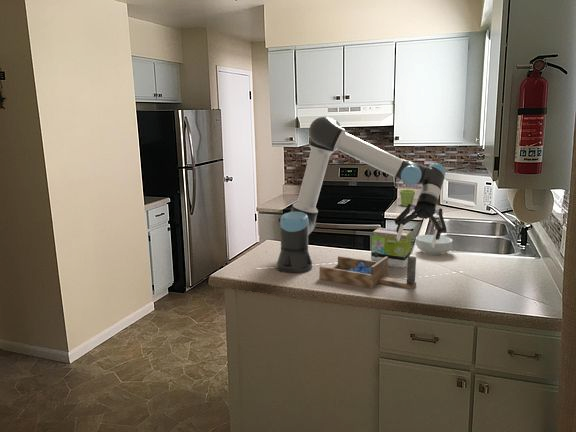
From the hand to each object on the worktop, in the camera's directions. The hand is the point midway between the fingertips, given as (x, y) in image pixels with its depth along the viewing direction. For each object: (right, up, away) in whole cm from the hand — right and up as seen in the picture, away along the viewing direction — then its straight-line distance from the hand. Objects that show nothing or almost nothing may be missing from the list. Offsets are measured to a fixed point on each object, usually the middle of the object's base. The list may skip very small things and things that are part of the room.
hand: (414, 242), depth 189 cm
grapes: (-13, -11, +6) cm, 19 cm away
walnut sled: (-17, -15, +4) cm, 23 cm away
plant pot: (+37, +17, +166) cm, 171 cm away
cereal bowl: (+20, -7, +43) cm, 48 cm away
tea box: (-4, -11, +26) cm, 29 cm away
